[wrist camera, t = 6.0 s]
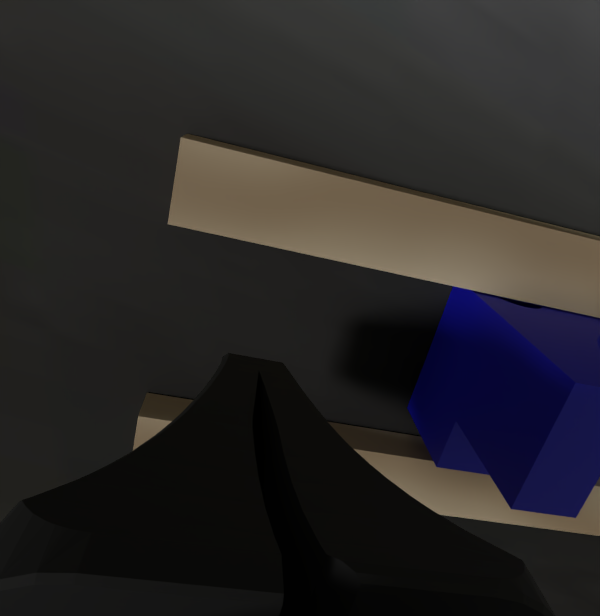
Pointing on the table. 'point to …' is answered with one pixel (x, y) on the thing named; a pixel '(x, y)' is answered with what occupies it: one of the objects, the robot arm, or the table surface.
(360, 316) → the table surface
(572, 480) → the blue stepped block
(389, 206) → the channel
